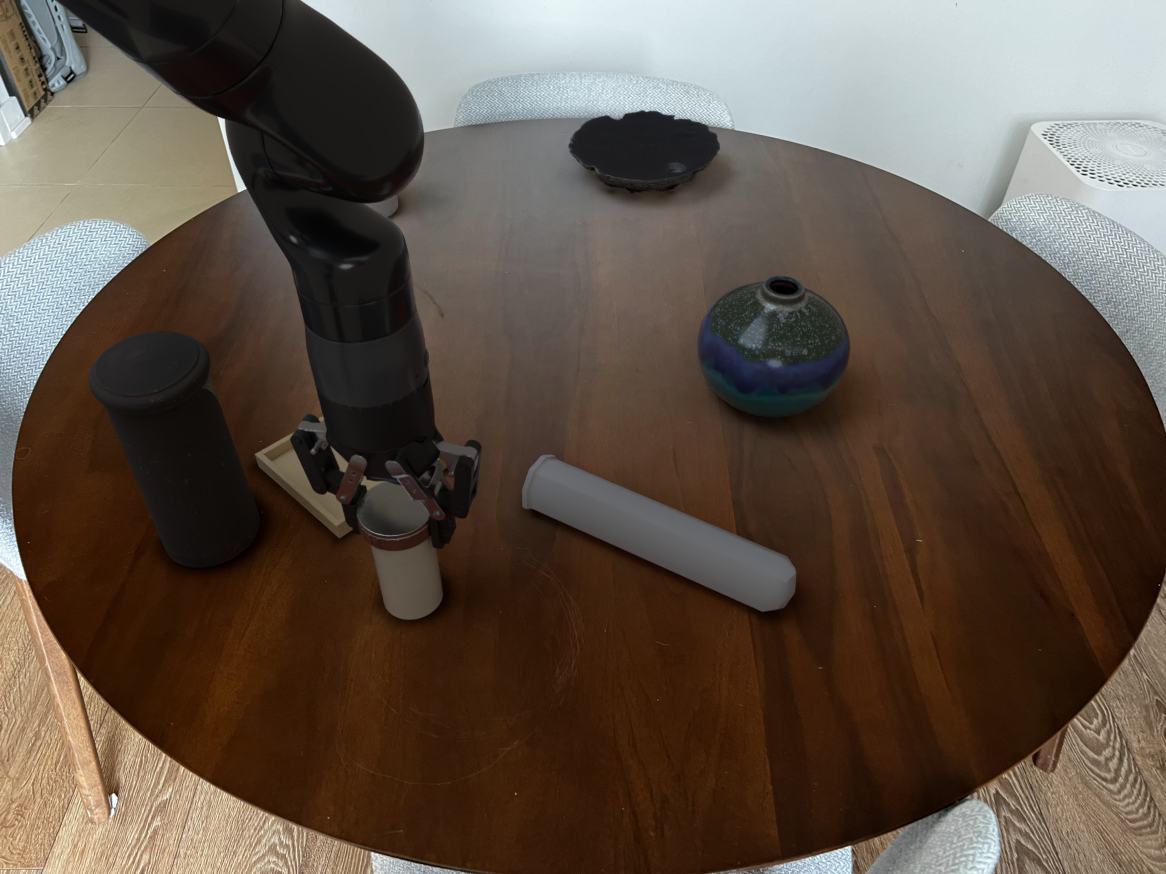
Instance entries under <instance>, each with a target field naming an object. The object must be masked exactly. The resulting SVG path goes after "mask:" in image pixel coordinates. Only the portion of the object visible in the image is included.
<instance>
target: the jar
mask: <svg viewBox="0 0 1166 874" xmlns="http://www.w3.org/2000/svg"><path fill="white" fill-rule="evenodd" d="M370 549H371V553H372V554H371V555H372V557H373V562H374V567H375V571H376V575H377V580H378V584H379V588H380V593H381V597H382V601H383V602H382V603H383V606H384V608H385V609H386V611H387V612H388V613H389V614H390V615H391V616H393V617H395V618H397V619H401V620H408V621H411V620H419V619H421V618H422V619H423V618H424V617H426V616H428V615H431V614H432V613H433V612H434V611H435V610H436V609H437V608H438V607H439V606H440V604H441V602H442V601H443V596H444V589H443V581H442V576H441V569H440V564H439V557H438V550H437V548H433V546H432V540H431V536H430V537H429V538H428V539H427V540H425V541H424V542H423V543H421V544H420V545H417V546H415V547H413V548H411V549H407V550H402V551H385V550H381V549H380V550H379V549H378V548H375V547H373V546H370Z"/></svg>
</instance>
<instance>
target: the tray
mask: <svg viewBox="0 0 1166 874" xmlns="http://www.w3.org/2000/svg"><path fill="white" fill-rule="evenodd" d="M317 418H318V419H319V421H320V423H325V422H324V418H323V415H322V416H320V417H317ZM294 432H295V431H293V432H292V433H289V434H288V435H286V436H285V437H283V438H281V439H279V440H278V441H276V442H273V443H272V444H270V445H269V446H267V447H265V448H263V449H260V451H258V452H256V453H254V456H255V459H256V460H255V461H256V462H257V465H258V468H260V469H261V470H262V471H263V472H264V473H265V474H266V475H267V476H269V477H270V478H271V479H272V480H273V481H274V482H275V483H276V484H278V485H279V486H280V487H281V488H282V489H283V490H284V491H285V492H287V494H289V495H290V496H291V497H292V498H293V499H295V500H296V502H298V503H299V504H300V505H301V506H302V507H303V508H304V509H306V510H307V511H308V512H309V513H310V514H311V515H312V516H314V517H315V519H317V520H318V521H319V522H320V523H321V524H323V525H324V526H325V527H326V528H327V529H328V530H329V531H330V532H331V533H333V534H334V536H336V537H337V538H338V539H341V538H342V537H344V536H345V535H347V534H348V533H350V532H353V529H352V527H349V526H348V524H347V523H346V521H345V517H344V513H343V509H342V505H341V503H340V502H339V501H338V500H337V499H336V495H334V494H332V493H329V492H327V493H326V494H324V495H321V494H318V493H316V492H315V491H314V490H313V489H312V487H311V485H310V483H309V480H308V478H307V476H306V474H305V472H304V470H303V467H302V465H301V463H300V461H299V459H298V457H297V454H296V452H295V450H294V448H293V446H292V444H291V441H290V438H291V436H292V435H293V433H294ZM331 449H332V451H333V453H334V456H335V458H336V460H337V463H338V465H339V467H340V471H342V472H345V471H346V469H347V467H348V464H349V463H348V462H347V461H346V460H345V459H344V458H342V457H341V456H340V455H339V454H338V453H337V452H336V451H335V450H334V449H333V448H332V447H331ZM438 461H439V462H440V464H441V465H442V467H443V471H444V470H446V469H448V468H447V464H446V463H445V462H444V461H443V460H442V459H439V458H438ZM420 478H421V477H420ZM420 478H419V480H420ZM383 482H386V481H378V482H376V481H370V480H366V477H365V476H364V479H363V481H362V482H361V485H366V487H367V491H368V490H370V489H371V488H372V487H374V486H376V485H378V484H380V483H383Z"/></svg>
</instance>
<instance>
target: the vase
mask: <svg viewBox="0 0 1166 874" xmlns="http://www.w3.org/2000/svg"><path fill="white" fill-rule="evenodd" d="M696 341H697V343H696V354H697V358H698V364H699V368H700V370H701V373H702V374H703V377H704V379H705V381H706V383H707V384H708V385H709V386H710V388H711V389H712V391H713V392H714V394H716V395H717V396H718V397H719V399H721V400H723V401H724V402H725V403H726V404H728V405H729V406H731V407H733V408H735V409H736V410H739V411H741V412H743V413H746V414H750V415H754V416H759V417H762V418H763V417H764V418H785V417H792V416H795V415H799V414H802V413H805V412H808V411H810V410H811V409H813V408H814V407H816V406H818V405H820V404H821V403H823V401H825V400H826V399H827V398H828V397H829V396H830V395H831V394H832V393H834V391H835V390H836V389H837V387H838V385H839V384H840V383H841V381H842V379H843V377H844V375H845V372H846V371H847V367H848V365H849V362H850V355H851V354H850V353H851V339H850V334H849V330H848V328H847V326H846V324H845V321H844V319H843V317H842V316H841V315H840V313H839V311H838V310H837V309H836V308H835V307H834V306H833V305H832V304H831V303H830V301H828V300H827V299H826V298H824V297H823V296H821V295H819V294H818V293H816V292H814V291H813V290H811V289H808V288H807V287H805V286H804V284H803V283H802V282H801V281H800V280H799V279H797V278H795V277H792V276H788V275H772V276H770V277H768V278H766V279H765V280H764V281H756V282H752V283H747V284H744V285H740V286H738V287H735V288H733V289H731V290H730V291H727V292H726V293H725V294H723V295H721V296H720V297H719V298H717V300H716V301H714V303H712V304H711V306H710V307H709V308H708V310H707V312H706V313H705V314H704V317H702V320H701V322H700V325H699V329H698V333H697V338H696Z"/></svg>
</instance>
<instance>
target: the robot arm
mask: <svg viewBox="0 0 1166 874" xmlns="http://www.w3.org/2000/svg"><path fill="white" fill-rule="evenodd" d="M54 1H55V2H56V3H57V4H58V5H60V6H61V7H63V8H64V9H65V10H67V11H68V12H69V13H70V14H72V15H73V16H74V17H75V18H76V19H78V20H79V21H81V22H82V23H83V24H85V25H86V26H87V27H88V28H90V29H91V30H92V31H94V33H96V34H97V35H98V36H100V37H101V38H102V39H104V40H105V41H106V42H107V43H108V44H110V45H111V46H113V47H114V48H115V49H116V50H118V51H119V52H120V53H121V54H123V55H124V56H126V57H127V58H128V59H129V60H130V61H132V62H133V63H134V64H136V65H137V66H139V67H140V68H141V69H142V70H144V71H145V72H146V73H148V74H149V75H150V76H152V77H153V78H154V79H156V80H157V81H158V82H160V83H161V84H162V85H163V86H165V87H166V88H167V89H169V90H170V91H171V92H173V93H174V94H175V95H176V96H178V97H179V98H180V99H182V100H184V101H185V102H187V103H189V104H190V105H191V106H193V107H195V108H197V109H198V110H201V111H203V112H205V113H207V114H209V115H212V116H214V117H216V118H220V119H222V120H224V129H225V135H226V140H227V144H228V149H229V152H230V155H231V158H232V161H233V163H234V166H235V169H236V170H237V172H238V175H239V176H240V178H241V180H242V183H243V185H244V187H245V188H246V191H247V192H248V194H249V197H250V198H251V200H252V201H253V203H254V206H255V208H256V209H257V211H258V212H259V214H260V216H261V218H262V220H263V221H264V224H265V225H266V227H267V229H268V231H269V233H270V235H271V236H272V238H273V240H274V241H275V243H276V245H277V246H278V247H279V249H280V250H281V252H282V254H283V255H284V257H285V258H286V260H287V262H288V264H289V266H290V270H291V274H292V279H293V282H294V287H295V290H296V295H297V298H298V302H299V307H300V311H301V315H302V319H303V325H304V335H305V346H306V347H305V348H306V352H307V353H306V354H307V358H308V361H309V366H310V370H311V373H312V377H313V382H314V386H315V391H316V394H317V397H318V402H319V406H320V410H321V414H322V416H323V418H324V422H325V423H320V421H319V419H318V418H319V417H317V416H316V415H315V414H311V413H307V414H305V415H304V416H303V418H302V420H301V421H300V423H299V424H298V426H297V427H296V429H295V430H294V431H293V432H294V433H293V432H292V433H293V435H292V436H291V438H290V441H291V444H292V446H293V448H294V450H295V452H296V454H297V457H298V459H299V461H300V463H301V465H302V467H303V470H304V472H305V474H306V476H307V478H308V480H309V483H310V485H311V487H312V489H313V490H314V491H315V492H316V493H318V494H321V495H324V494H326V493H327V492H329V493H332V494H334V495H336V499H337V500H338V501H339V502H340V503H341V505H342V509H343V513H344V517H345V521H346V523H347V524H348V526H349V527H352V529H353V530H352V532H353V534H354V535H358V536H362V534H360V530H359V526H358V520H357V506H358V504H359V502H360V500H361V498H362V496H363V495H364V494H365V493H366V492H367V487H366V485H361V482H362V481H363V479H364V476H365V477H366V480H370V481H376V482H378V481H387V482H390V483H393V484H395V485H400V486H403V487H404V489H405V490H406V491H407V493H408V494H409V495H410V497H411V498H412V499H413V501H415V502H418V501H420V502H421V504H422V505H423V506H424V508H425V509H426V510H427V512H428V513H429V514H430V515H429V518H428V521H429V527H430V534H431V540H432V546H433V548H436V550H437V549H438V550H443V549H444V547H445V545H449V544H450V542H451V540H452V538H453V536H454V533H455V531H456V528H457V522H456V518H457V519H466V518H467V517H468V515H469V513H470V509H471V506H472V504H473V502H474V500H475V498H476V496H477V494H478V486H479V485H478V484H479V479H480V469H481V459H482V458H481V457H482V449H483V447H482V445H481V443H480V442H479V441H478V440H475V439H468V440H466V442H465V444H464V445H462V444H461V445H460V444H456V443H452V442H449V441H446V440H445V439H444V436H443V434H442V433H441V432H440V431H439V429H438V428H437V425H436V417H435V416H436V415H435V404H434V397H433V388H432V382H431V374H430V373H431V372H430V368H429V364H430V362H429V361H430V355H429V350H428V349H427V346H426V345H427V344H426V338H425V334H424V333H425V332H424V328H423V324H422V320H421V317H420V314H419V311H418V308H417V303H416V302H417V301H416V295H415V286H414V281H413V279H414V278H413V273H412V272H413V271H412V267H411V260H410V253H409V249H408V245H407V242H406V238H405V237H406V236H405V235H404V233H403V231H402V230H401V228H400V227H399V225H397V224H396V222H394V221H393V220H392V219H390V218H389V217H386V216H384V215H383V214H381V213H379V212H377V211H376V210H374V209H372V208H370V207H369V206H367V205H366V204H369V203H378V202H382V201H385V200H388V199H390V198H392V197H394V196H396V195H397V196H398V195H399V194H400V193H402V192H403V191H404V190H406V188H407V187H408V186H409V185H410V184H411V183H412V181H413V179H415V177H416V176H417V174H418V173H419V172H418V171H419V169H420V167H421V164H422V160H423V156H424V149H425V130H424V123H423V118H422V114H421V113H420V109H419V106H418V103H417V101H416V99H415V97H414V95H413V93H412V91H411V89H410V88H409V86H408V85H407V84H406V82H405V81H404V80H403V78H402V77H401V76H400V74H399V73H398V72H397V71H396V70H395V69H394V68H393V67H392V66H391V65H390V64H389V63H388V62H387V61H385V60H384V59H383V58H382V57H381V56H380V55H378V54H377V53H376V52H375V51H373V49H371V48H369V47H368V46H367V45H366V44H364V43H363V42H361V41H360V40H359V39H357V38H356V37H355V36H353V35H352V34H351V33H349V32H348V31H347V30H345V29H344V28H342V26H340V25H338V24H337V23H336V22H335V21H333V20H332V19H331V18H329V17H327V16H326V15H324V14H323V13H321V12H320V11H318V10H316V9H315V8H313V7H312V6H310V5H308V4H307V3H305V2H304V1H303V0H54ZM331 447H332V448H333V449H334V450H335V451H336V452H337V453H338V454H339V455H340V456H341V457H342V458H344V459H345V460H346V461H347V462H348V463H349V464H348V467H347V469H346V471H345V472H342V471H340V467H339V465H338V463H337V460H336V458H335V456H334V453H333V451H332V449H331ZM438 458H439V459H442V460H443V461H444V462H445V463H446V464H447V468H446V469H447V470H448V471H449V472H448V476H449V477H450V478H453V487H452V485H451V484H450V483H449V481H448V480H447V478H446V477H445V475H444V470H443V467H442V465H441V464H440V462H439V461H438ZM420 477H421V478H420ZM419 478H420V480H419Z"/></svg>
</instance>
